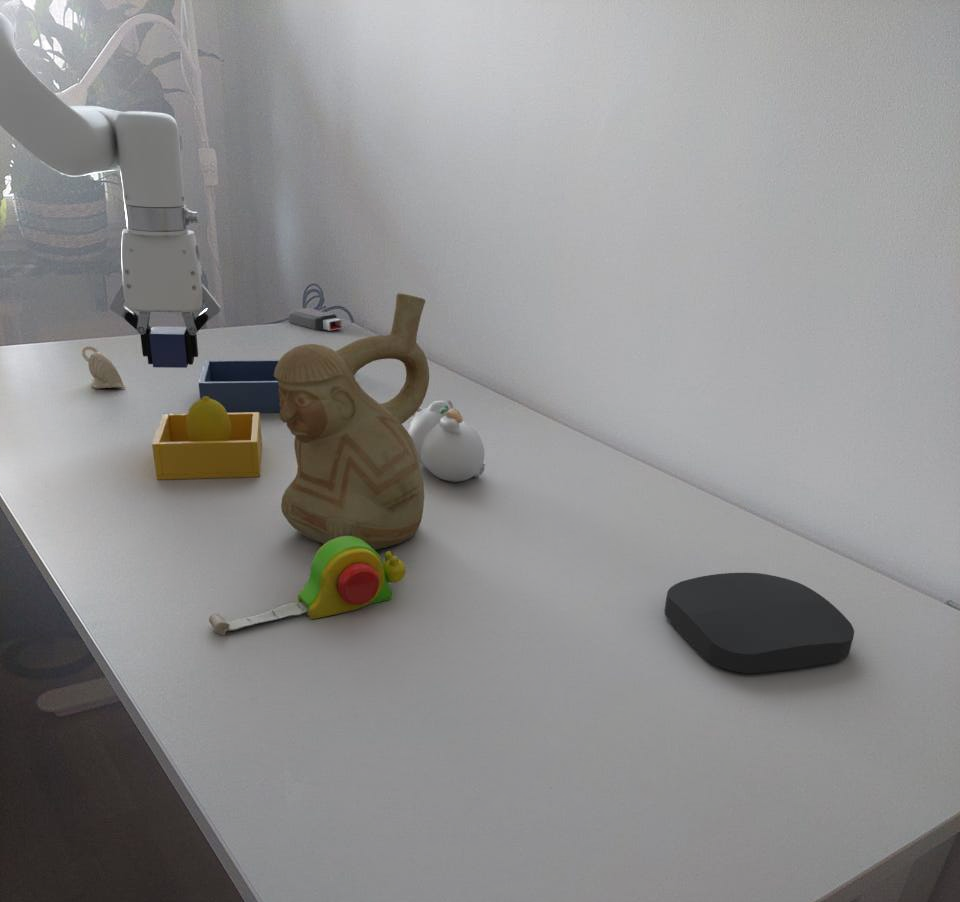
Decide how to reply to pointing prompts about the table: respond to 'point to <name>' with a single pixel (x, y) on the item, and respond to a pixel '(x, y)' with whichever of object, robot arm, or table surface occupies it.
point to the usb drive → (315, 319)
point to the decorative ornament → (102, 370)
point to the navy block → (168, 347)
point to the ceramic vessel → (354, 437)
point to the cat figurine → (446, 442)
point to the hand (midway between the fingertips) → (171, 360)
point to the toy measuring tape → (333, 584)
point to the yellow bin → (208, 450)
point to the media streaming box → (758, 622)
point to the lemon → (208, 421)
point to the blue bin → (241, 385)
